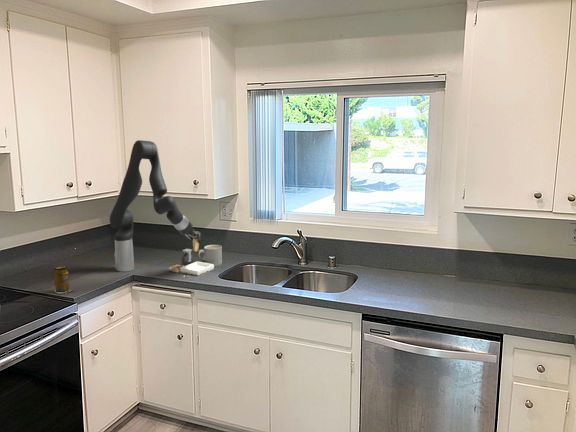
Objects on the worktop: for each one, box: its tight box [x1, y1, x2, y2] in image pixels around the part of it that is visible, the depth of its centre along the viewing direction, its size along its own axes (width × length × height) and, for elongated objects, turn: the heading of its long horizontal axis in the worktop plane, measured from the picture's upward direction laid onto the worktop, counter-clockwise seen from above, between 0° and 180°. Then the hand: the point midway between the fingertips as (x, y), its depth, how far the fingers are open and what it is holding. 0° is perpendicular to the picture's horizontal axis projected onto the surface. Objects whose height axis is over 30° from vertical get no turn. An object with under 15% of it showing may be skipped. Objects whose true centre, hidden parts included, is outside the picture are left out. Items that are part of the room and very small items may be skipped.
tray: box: [179, 260, 215, 276], centre depth 254 cm, size 12×14×2 cm
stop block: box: [169, 264, 184, 273], centre depth 254 cm, size 6×6×2 cm
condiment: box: [53, 265, 70, 292], centre depth 221 cm, size 7×8×12 cm
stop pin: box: [192, 230, 200, 252], centre depth 250 cm, size 4×4×10 cm
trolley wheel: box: [181, 248, 194, 266], centre depth 261 cm, size 4×7×10 cm, turn 151°
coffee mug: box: [197, 244, 223, 267], centre depth 266 cm, size 13×10×10 cm
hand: (198, 241), depth 252 cm, fingers closed on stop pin, 3 cm apart
